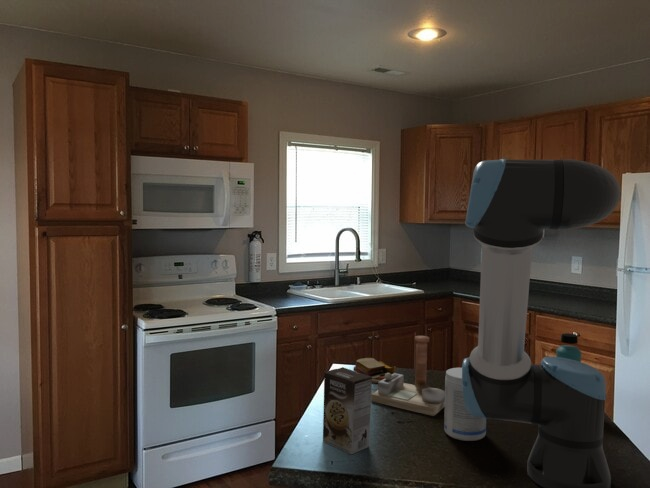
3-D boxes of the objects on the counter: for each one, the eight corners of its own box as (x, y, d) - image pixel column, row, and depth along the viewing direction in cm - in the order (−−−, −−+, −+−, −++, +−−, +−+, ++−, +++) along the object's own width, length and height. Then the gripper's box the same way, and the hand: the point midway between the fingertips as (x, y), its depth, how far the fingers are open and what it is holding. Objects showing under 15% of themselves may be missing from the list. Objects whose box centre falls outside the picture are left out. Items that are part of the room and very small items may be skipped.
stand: (433, 416, 140) (434, 388, 139) (371, 401, 149) (371, 375, 149) (452, 400, 151) (453, 375, 151) (393, 387, 161) (394, 363, 161)
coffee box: (321, 441, 123) (322, 371, 122) (340, 433, 128) (342, 366, 127) (351, 455, 117) (353, 381, 116) (370, 446, 122) (372, 375, 120)
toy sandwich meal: (371, 386, 162) (371, 371, 162) (347, 374, 174) (347, 359, 173) (405, 381, 168) (405, 365, 168) (379, 369, 180) (380, 354, 180)
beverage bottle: (577, 413, 143) (582, 338, 142) (550, 408, 147) (554, 334, 145) (581, 406, 149) (585, 333, 147) (554, 401, 152) (558, 330, 151)
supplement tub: (494, 437, 128) (496, 375, 127) (466, 446, 123) (468, 381, 122) (462, 422, 136) (464, 364, 135) (434, 430, 131) (437, 370, 130)
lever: (448, 402, 143) (450, 348, 142) (427, 403, 142) (429, 349, 141) (427, 384, 157) (429, 335, 156) (407, 386, 155) (409, 336, 154)
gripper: (498, 227, 151) (494, 310, 152) (477, 229, 135) (473, 322, 137) (526, 228, 146) (522, 314, 148) (508, 230, 131) (504, 326, 132)
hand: (499, 317), depth 142 cm, fingers open, 6 cm apart
